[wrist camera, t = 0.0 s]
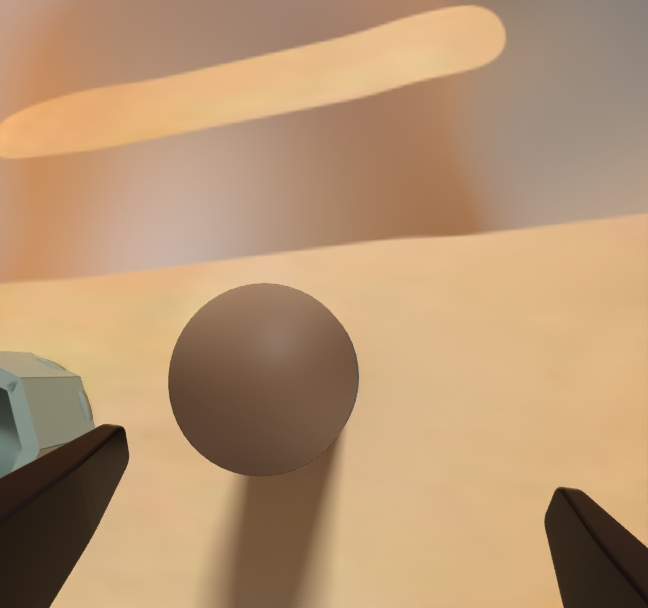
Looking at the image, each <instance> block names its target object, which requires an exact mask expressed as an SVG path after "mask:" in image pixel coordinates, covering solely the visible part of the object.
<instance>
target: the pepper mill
mask: <svg viewBox="0 0 648 608" xmlns="http://www.w3.org/2000/svg"><path fill="white" fill-rule="evenodd" d="M358 383H359V371H358V362H357V357H356V353H355V350H354V347H353V344H352V342H351V340H350V338H349V336H348V333H347V332H346V330H345V329H344V327H343V326H342V324H341V323H340V322H339V321H338V320H337V318H336V317H335V316H334V315H333V314H332V313H331V312H330V311H329V310H328V309H327V308H326V307H325V306H324V305H323V304H322V303H320V302H319V301H318V300H316V299H315V298H313V297H312V296H310V295H308V294H306V293H304V292H302V291H300V290H297V289H294V288H291V287H289V286H284V285H279V284H268V283H261V284H250V285H245V286H241V287H238V288H234V289H231V290H229V291H227V292H225V293H223V294H220V295H219V296H217V297H215V298H214V299H212V300H211V301H209V302H208V303H207V304H205V305H204V306H203V307H202V308H201V309H199V311H198V312H197V313H196V314H195V315H194V316H193V317H192V318H191V319H190V321H189V322H188V323H187V325H186V326H185V328H184V329H183V331H182V333H181V335H180V336H179V338H178V340H177V343H176V345H175V348H174V350H173V354H172V358H171V361H170V368H169V377H168V388H169V397H170V402H171V406H172V410H173V413H174V416H175V418H176V421H177V423H178V425H179V427H180V429H181V431H182V432H183V434H184V436H185V437H186V438H187V440H188V441H189V442H190V444H191V445H192V446H193V447H194V448H195V449H196V450H197V451H198V452H199V453H200V454H201V455H203V456H204V457H205V458H206V459H208V460H209V461H211V462H212V463H214V464H216V465H218V466H219V467H221V468H224V469H226V470H229V471H231V472H234V473H239V474H243V475H249V476H272V475H278V474H283V473H286V472H289V471H292V470H295V469H297V468H299V467H301V466H303V465H306V464H307V463H309V462H310V461H312V460H313V459H315V458H316V457H318V456H319V455H320V454H321V453H322V452H324V451H325V450H326V449H327V448H328V447H329V446H330V445H331V443H332V442H333V441H334V440H335V439H336V438H337V436H338V435H339V433H340V432H341V430H342V429H343V427H344V426H345V424H346V423H347V421H348V419H349V417H350V415H351V413H352V410H353V407H354V404H355V401H356V397H357V392H358Z"/></svg>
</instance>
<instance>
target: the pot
mask: <svg viewBox="0 0 648 608" xmlns="http://www.w3.org/2000/svg"><path fill="white" fill-rule="evenodd" d="M93 429H95V426H94V423H93V417H92V411H91V406H90V403H89V400H88V398H87V395H86V393H85V391H84V388H83V385H82V381H81V378H80V376H78V375H76V374H74V373H72V372H69V371H67V370H66V369H65V368H63V367H62V366H60V365H58V364H56V363H54V362H52V361H49V360H46V359H42V358H40V357H38V356H36V355H33V354H31V353H26V352H9V351H0V478H1V477H3V476H5V475H7V474H9V473H11V472H13V471H15V470H17V469H18V468H20V467H22V466H24V465H26V464H28V463H30V462H32V461H34V460H36V459H38V458H39V457H41V456H43V455H45V454H47V453H49V452H51V451H53V450H55V449H57V448H58V447H60V446H62V445H64V444H66V443H68V442H70V441H72V440H74V439H76V438H78V437H79V436H81V435H83V434H85V433H87V432H89V431H91V430H93Z"/></svg>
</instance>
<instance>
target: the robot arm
mask: <svg viewBox="0 0 648 608" xmlns="http://www.w3.org/2000/svg"><path fill="white" fill-rule="evenodd" d="M128 461H129V451H128V444H127V438H126V432H125V429H124V428H123V427H122V426H119V425H112V424H103V425H101V426H99V427H97V428H95V429H93V430H91V431H89V432H87V433H85V434H83V435H81V436H79V437H78V438H76V439H74V440H72V441H70V442H68V443H66V444H64V445H62V446H60V447H58V448H57V449H55V450H53V451H51V452H49V453H47V454H45V455H43V456H41V457H39V458H38V459H36V460H34V461H32V462H30V463H28V464H26V465H24V466H22V467H20V468H18V469H17V470H15V471H13V472H11V473H9V474H7V475H5V476H3V477H1V478H0V608H49V607H50V606H51V604H52V602H53V601H54V599H55V598H56V596H57V594H58V593H59V591H60V589H61V588H62V586H63V584H64V583H65V581H66V579H67V578H68V576H69V575H70V573H71V571H72V570H73V568H74V566H75V565H76V563H77V561H78V560H79V558H80V557H81V555H82V553H83V552H84V550H85V548H86V547H87V545H88V543H89V541H90V540H91V538H92V536H93V534H94V533H95V531H96V529H97V527H98V525H99V523H100V521H101V519H102V517H103V515H104V513H105V510H106V508H107V506H108V504H109V502H110V500H111V498H112V496H113V494H114V492H115V490H116V488H117V486H118V484H119V482H120V480H121V478H122V475H123V473H124V471H125V469H126V467H127V465H128ZM544 523H545V530H546V534H547V539H548V543H549V547H550V552H551V556H552V560H553V564H554V569H555V573H556V577H557V582H558V586H559V590H560V595H561V599H562V603H563V606H564V608H648V548H647V547H646V546H645V545H644V544H643V543H641V542H640V541H639V540H638V539H637V538H636V537H635V536H633V535H632V534H631V533H630V532H629V531H628V530H627V529H625V528H624V527H623V526H622V525H621V524H620V523H619V522H617V521H616V520H615V519H614V518H613V517H612V516H611V515H609V514H608V513H607V512H606V511H605V510H604V509H603V508H601V507H600V506H599V505H598V504H597V503H596V502H594V501H593V500H592V499H591V498H590V497H589V496H588V495H586V494H585V493H584V492H583V491H581V490H579V489H574V488H567V487H558V488H557V489H556V490H555V492H554V494H553V497H552V499H551V502H550V504H549V507H548V509H547V511H546V514H545V521H544Z"/></svg>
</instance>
